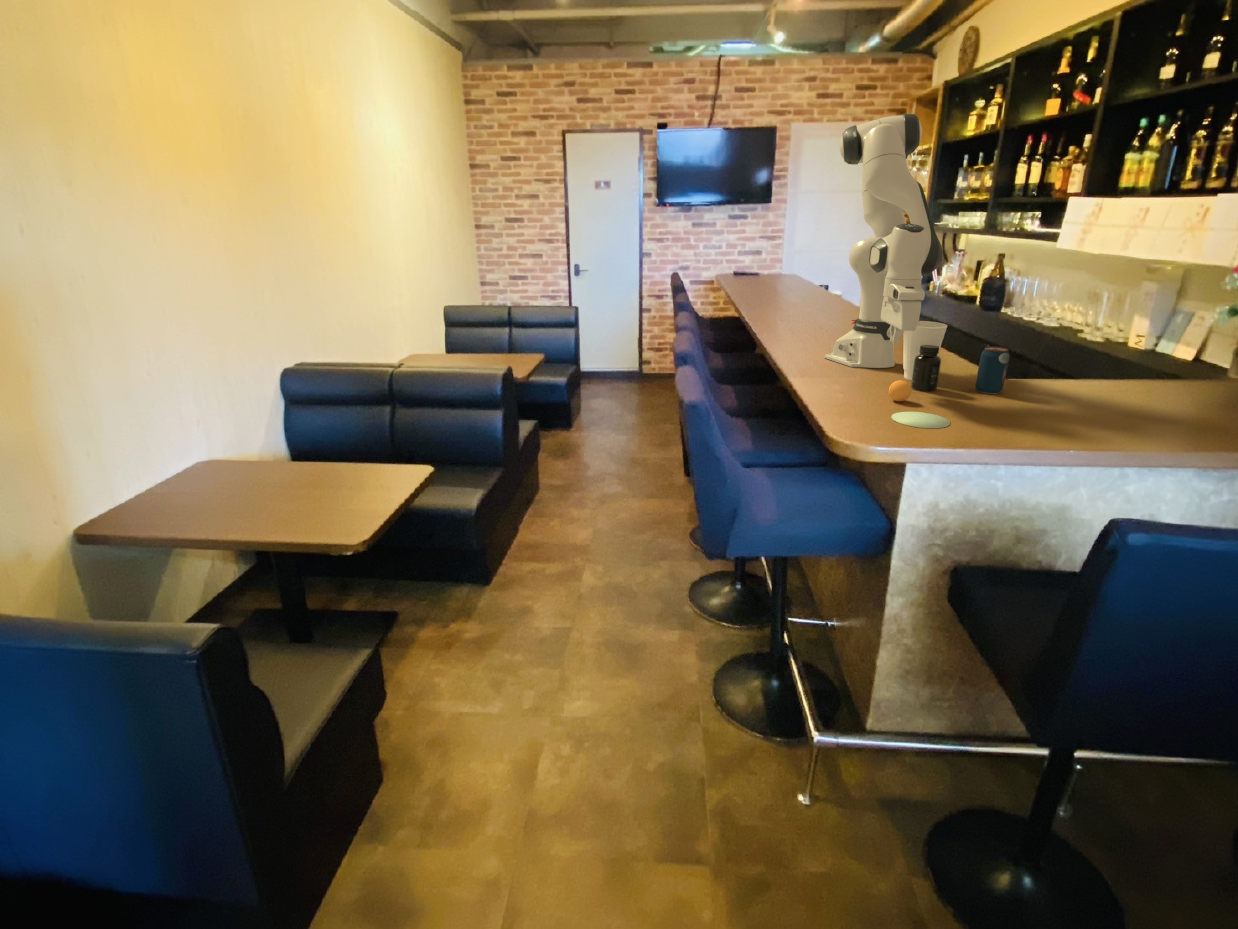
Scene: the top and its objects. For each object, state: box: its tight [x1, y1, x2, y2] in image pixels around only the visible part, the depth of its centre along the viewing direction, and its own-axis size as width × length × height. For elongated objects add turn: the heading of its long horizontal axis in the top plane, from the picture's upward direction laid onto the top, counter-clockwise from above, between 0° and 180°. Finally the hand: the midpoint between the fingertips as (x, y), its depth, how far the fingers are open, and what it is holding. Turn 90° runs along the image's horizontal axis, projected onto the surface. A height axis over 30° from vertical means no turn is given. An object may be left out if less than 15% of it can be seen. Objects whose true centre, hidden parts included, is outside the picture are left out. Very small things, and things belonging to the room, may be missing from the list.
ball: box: [888, 380, 912, 402], centre depth 181 cm, size 6×6×6 cm
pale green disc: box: [890, 411, 951, 429], centre depth 166 cm, size 13×13×1 cm
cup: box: [902, 320, 948, 381], centre depth 203 cm, size 12×12×16 cm
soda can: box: [974, 345, 1011, 395], centre depth 190 cm, size 7×7×12 cm
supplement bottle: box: [910, 345, 942, 392], centre depth 192 cm, size 7×7×12 cm
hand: (894, 342), depth 186 cm, fingers closed
